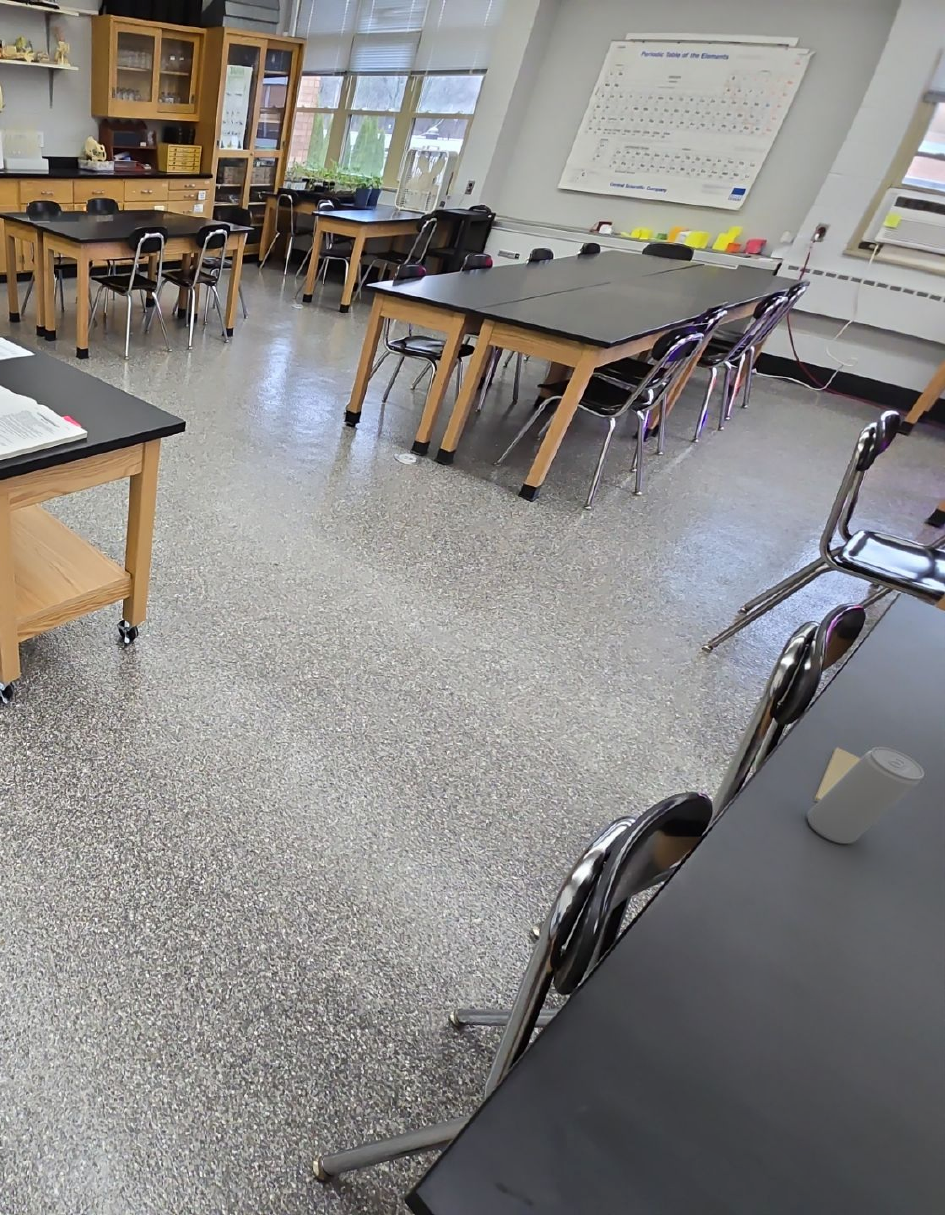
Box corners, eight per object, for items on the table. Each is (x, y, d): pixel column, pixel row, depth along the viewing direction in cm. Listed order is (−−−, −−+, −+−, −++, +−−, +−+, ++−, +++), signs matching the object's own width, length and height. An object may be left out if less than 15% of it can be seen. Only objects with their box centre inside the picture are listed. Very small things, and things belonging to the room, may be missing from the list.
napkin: (834, 750, 97) (837, 747, 96) (876, 770, 94) (879, 767, 94) (813, 800, 89) (816, 797, 89) (858, 823, 87) (861, 820, 86)
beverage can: (795, 819, 87) (860, 752, 80) (818, 807, 89) (884, 741, 81) (839, 851, 83) (911, 785, 76) (862, 839, 85) (935, 772, 78)
